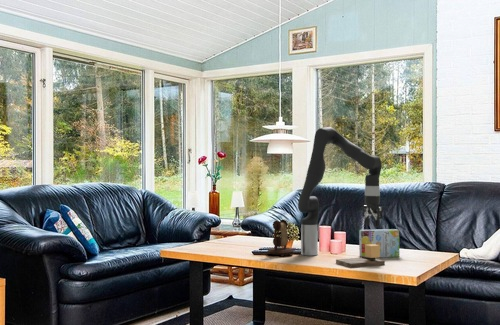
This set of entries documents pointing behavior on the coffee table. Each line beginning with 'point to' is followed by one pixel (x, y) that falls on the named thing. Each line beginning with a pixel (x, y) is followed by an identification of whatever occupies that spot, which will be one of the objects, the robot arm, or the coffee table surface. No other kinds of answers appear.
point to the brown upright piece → (280, 239)
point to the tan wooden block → (372, 250)
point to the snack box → (380, 241)
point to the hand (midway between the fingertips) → (372, 226)
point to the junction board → (360, 262)
